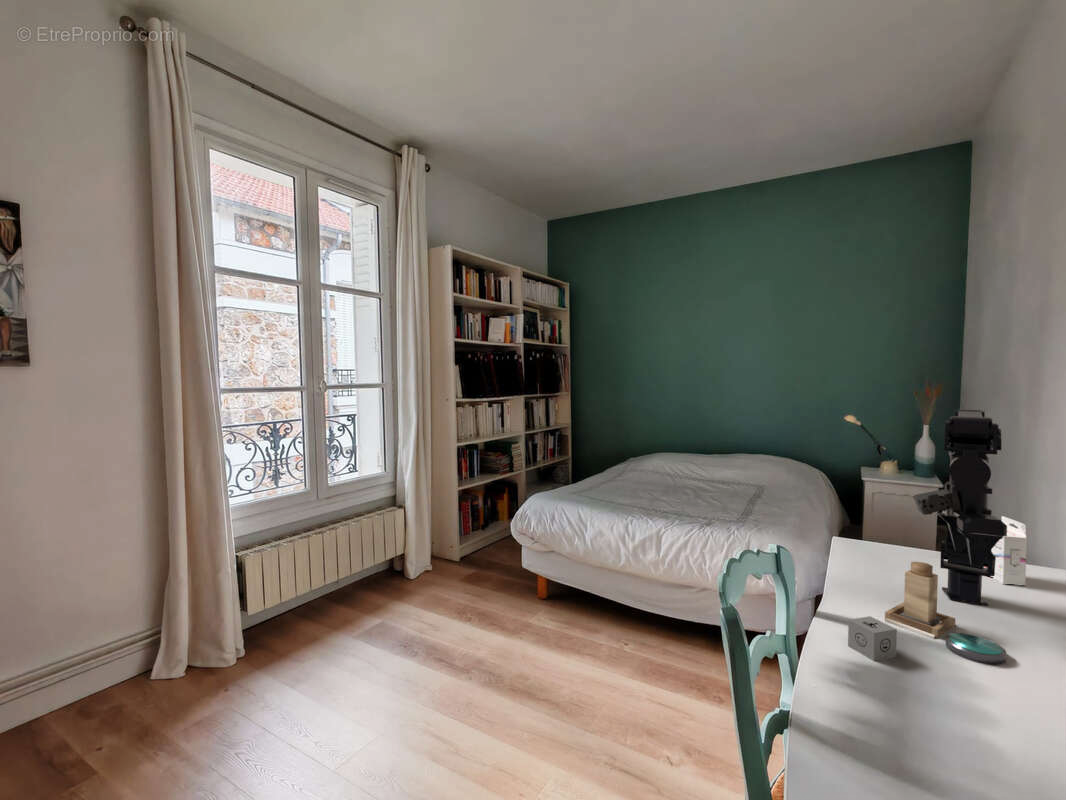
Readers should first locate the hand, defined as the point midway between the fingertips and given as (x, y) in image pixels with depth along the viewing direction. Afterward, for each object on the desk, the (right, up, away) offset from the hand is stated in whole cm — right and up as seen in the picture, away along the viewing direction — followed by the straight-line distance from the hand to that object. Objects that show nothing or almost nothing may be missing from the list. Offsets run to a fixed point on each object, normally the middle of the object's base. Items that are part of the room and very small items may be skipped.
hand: (966, 558), depth 98 cm
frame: (-9, -13, 0) cm, 16 cm away
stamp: (-9, -13, 0) cm, 15 cm away
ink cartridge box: (+29, -13, +23) cm, 39 cm away
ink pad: (-7, -13, -10) cm, 18 cm away
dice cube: (-26, -14, -10) cm, 31 cm away
